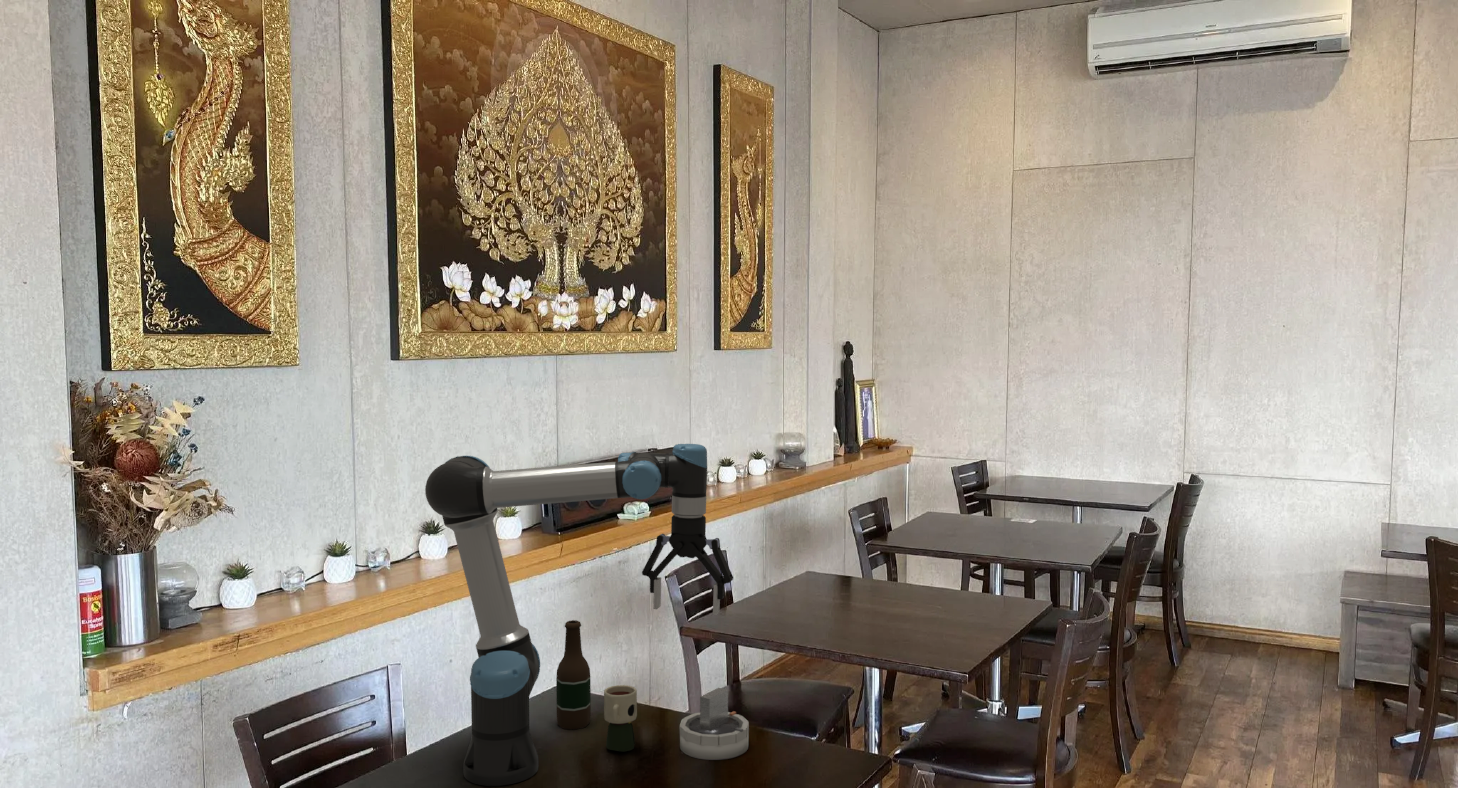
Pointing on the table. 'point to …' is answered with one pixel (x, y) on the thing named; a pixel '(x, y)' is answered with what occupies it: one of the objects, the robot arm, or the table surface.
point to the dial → (714, 714)
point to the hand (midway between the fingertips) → (686, 610)
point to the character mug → (620, 716)
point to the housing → (714, 740)
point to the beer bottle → (573, 682)
